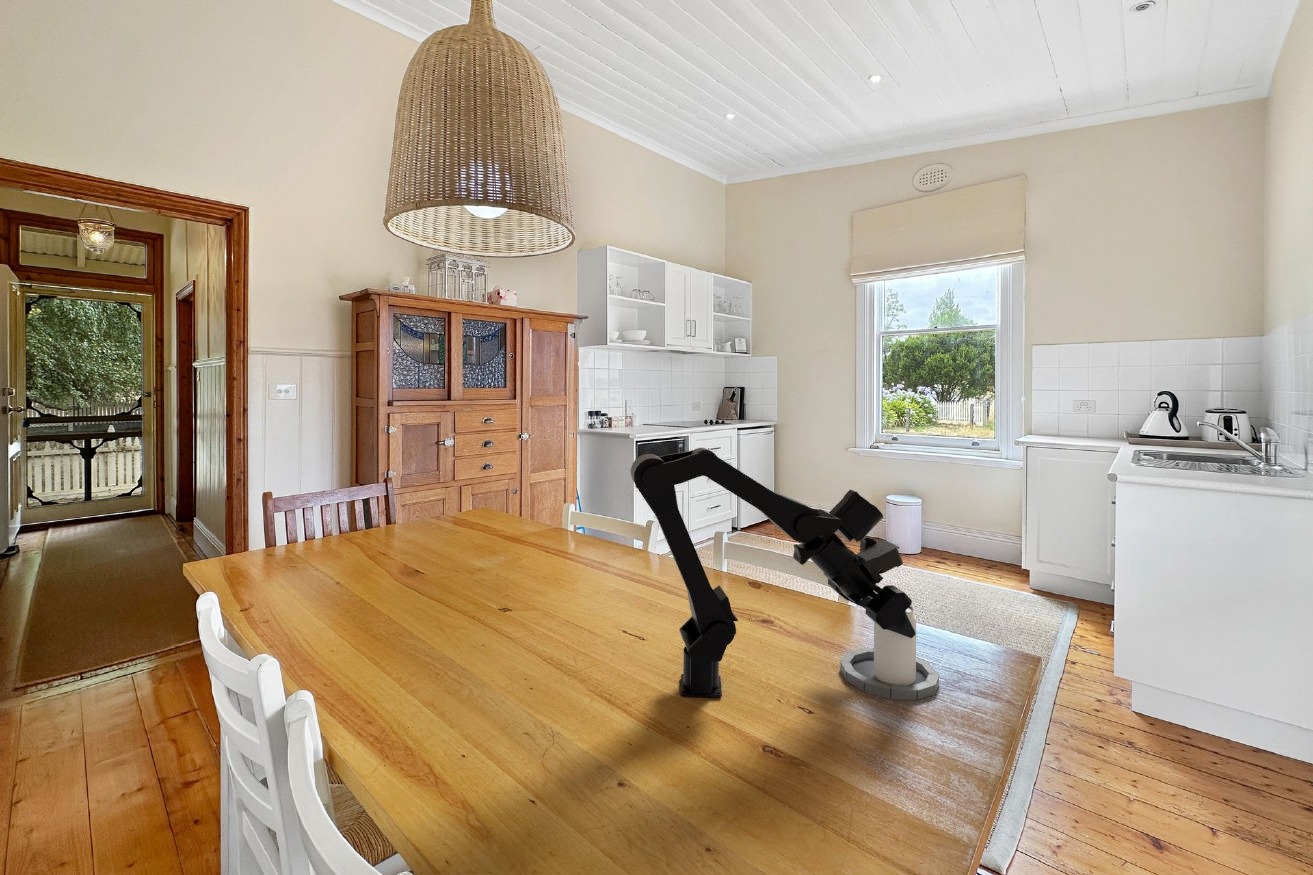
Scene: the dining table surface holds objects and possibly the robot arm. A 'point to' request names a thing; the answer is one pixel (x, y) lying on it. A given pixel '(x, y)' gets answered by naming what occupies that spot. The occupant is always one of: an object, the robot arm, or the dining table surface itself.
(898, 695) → the round gray tray
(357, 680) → the dining table surface
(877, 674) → the can
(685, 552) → the robot arm
